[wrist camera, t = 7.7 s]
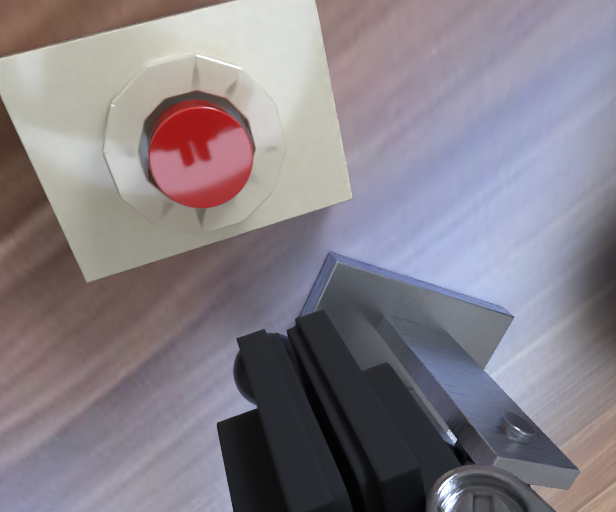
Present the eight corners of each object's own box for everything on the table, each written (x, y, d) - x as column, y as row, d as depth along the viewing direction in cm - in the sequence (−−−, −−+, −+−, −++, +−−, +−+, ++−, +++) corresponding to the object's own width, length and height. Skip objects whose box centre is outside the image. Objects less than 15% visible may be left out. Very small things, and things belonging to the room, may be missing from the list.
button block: (90, 261, 25) (83, 303, 22) (-3, 57, 21) (-30, 68, 18) (337, 185, 27) (368, 212, 24) (297, -17, 23) (326, -21, 19)
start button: (165, 205, 21) (168, 221, 20) (132, 113, 20) (132, 123, 18) (255, 178, 22) (264, 192, 20) (230, 87, 20) (238, 94, 19)
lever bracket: (262, 394, 31) (328, 591, 20) (329, 251, 28) (442, 393, 18) (433, 427, 36) (556, 600, 25) (503, 307, 33) (670, 444, 23)
